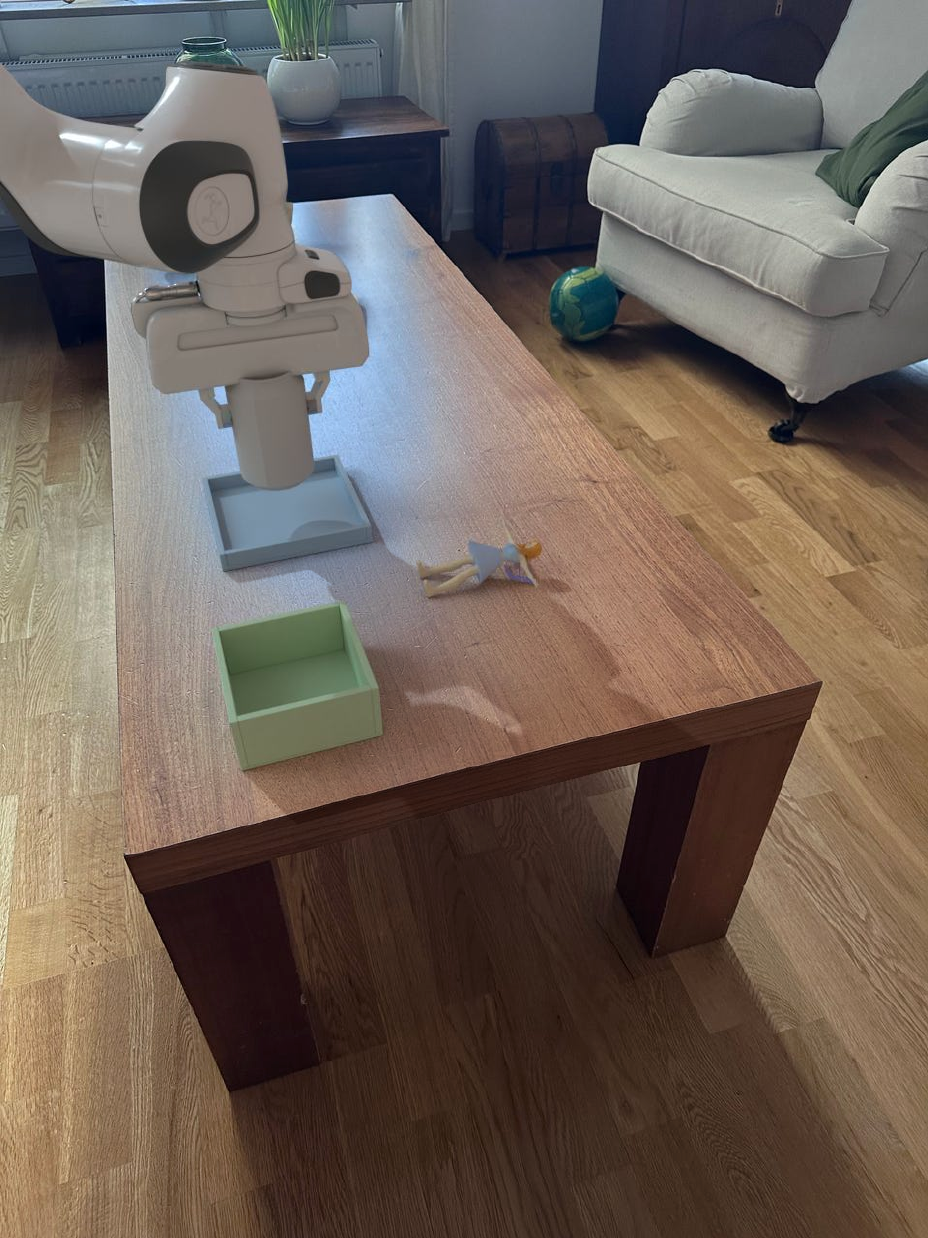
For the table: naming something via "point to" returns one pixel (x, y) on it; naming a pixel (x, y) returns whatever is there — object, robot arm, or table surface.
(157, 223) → the robot arm
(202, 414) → the table surface
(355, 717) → the bin
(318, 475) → the tray
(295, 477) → the can
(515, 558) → the fairy figurine
